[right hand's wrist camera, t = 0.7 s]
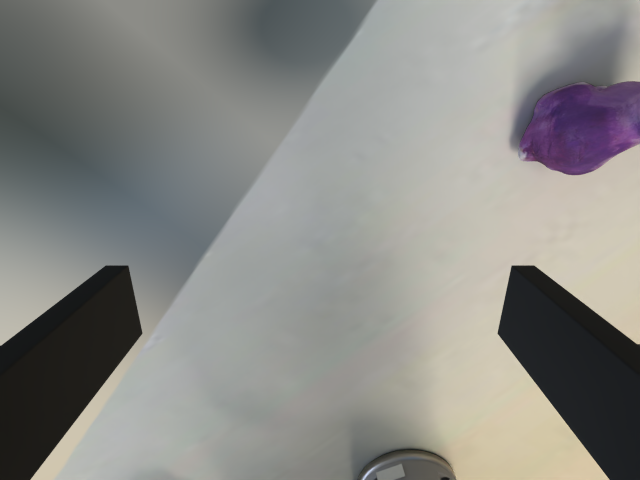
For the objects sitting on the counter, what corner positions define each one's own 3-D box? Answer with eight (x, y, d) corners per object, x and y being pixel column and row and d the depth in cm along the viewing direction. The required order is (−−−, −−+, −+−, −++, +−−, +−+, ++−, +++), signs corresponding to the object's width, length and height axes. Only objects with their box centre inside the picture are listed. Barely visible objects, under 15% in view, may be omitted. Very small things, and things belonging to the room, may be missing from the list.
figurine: (636, 77, 35) (843, 61, 21) (586, 178, 39) (735, 221, 25) (547, 52, 35) (702, 19, 21) (504, 158, 38) (611, 190, 24)
